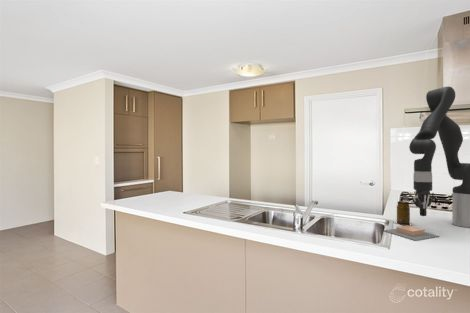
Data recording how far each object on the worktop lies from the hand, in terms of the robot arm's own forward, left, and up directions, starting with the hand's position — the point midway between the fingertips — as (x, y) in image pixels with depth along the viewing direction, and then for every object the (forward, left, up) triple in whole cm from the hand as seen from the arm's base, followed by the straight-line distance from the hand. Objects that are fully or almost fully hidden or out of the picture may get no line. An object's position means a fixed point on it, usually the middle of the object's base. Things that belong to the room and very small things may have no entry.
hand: (423, 215), depth 130 cm
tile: (+5, 0, -6) cm, 8 cm away
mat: (+9, 0, -8) cm, 12 cm away
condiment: (-6, -14, -8) cm, 18 cm away
